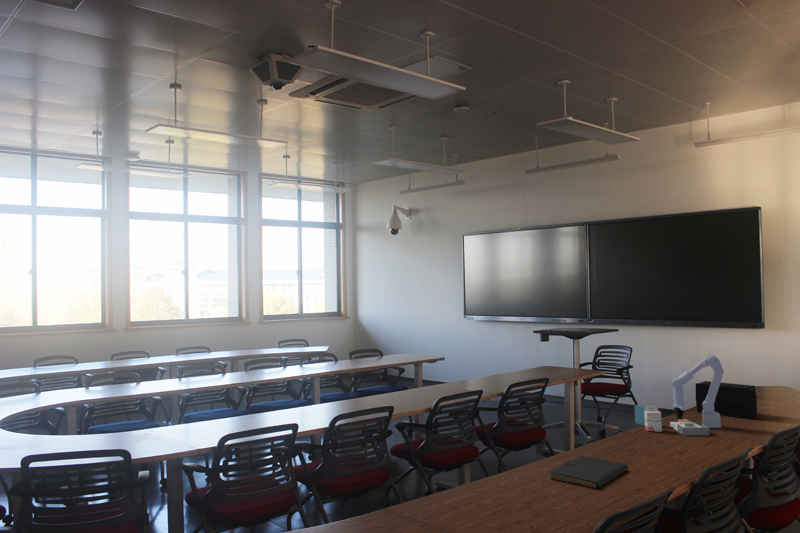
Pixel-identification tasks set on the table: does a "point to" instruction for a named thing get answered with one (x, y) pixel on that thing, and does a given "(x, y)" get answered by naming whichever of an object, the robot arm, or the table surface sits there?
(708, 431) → the bin
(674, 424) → the ledge board
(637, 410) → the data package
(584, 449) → the table surface
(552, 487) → the table surface
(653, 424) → the ink cartridge box
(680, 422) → the terracotta tile
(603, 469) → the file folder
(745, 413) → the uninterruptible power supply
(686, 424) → the green tile
